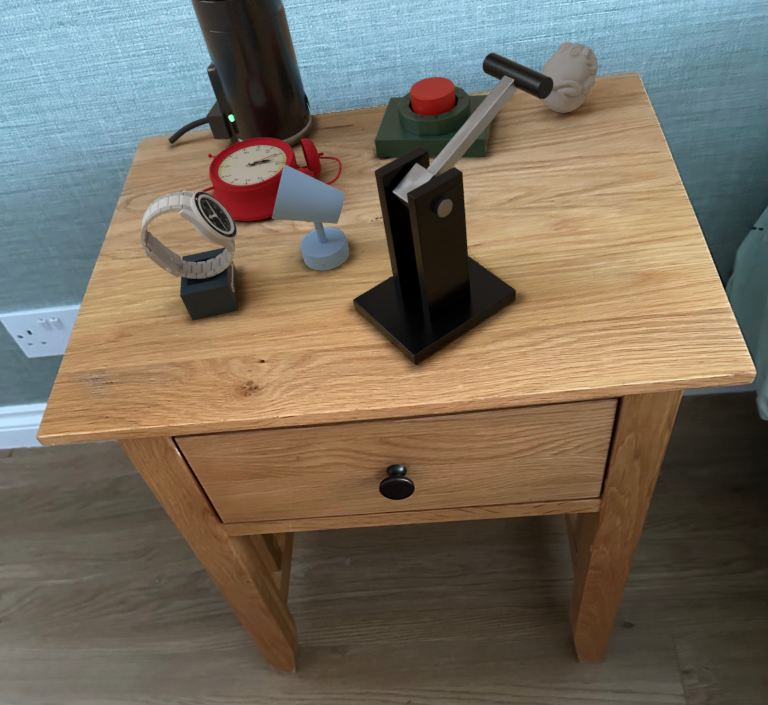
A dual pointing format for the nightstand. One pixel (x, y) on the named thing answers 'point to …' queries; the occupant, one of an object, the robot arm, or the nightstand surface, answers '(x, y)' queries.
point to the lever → (479, 118)
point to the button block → (427, 127)
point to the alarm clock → (258, 174)
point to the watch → (201, 270)
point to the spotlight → (313, 217)
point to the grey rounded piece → (570, 76)
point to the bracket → (428, 265)
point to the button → (433, 96)
